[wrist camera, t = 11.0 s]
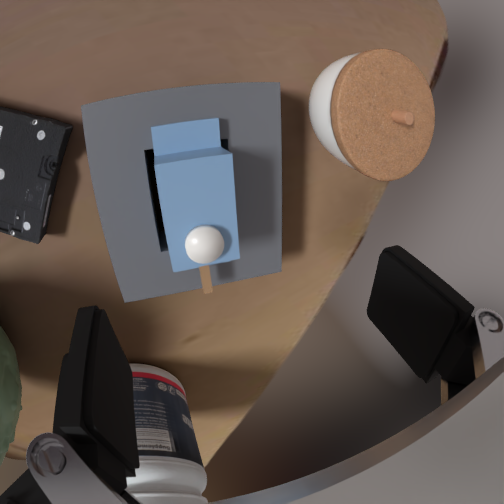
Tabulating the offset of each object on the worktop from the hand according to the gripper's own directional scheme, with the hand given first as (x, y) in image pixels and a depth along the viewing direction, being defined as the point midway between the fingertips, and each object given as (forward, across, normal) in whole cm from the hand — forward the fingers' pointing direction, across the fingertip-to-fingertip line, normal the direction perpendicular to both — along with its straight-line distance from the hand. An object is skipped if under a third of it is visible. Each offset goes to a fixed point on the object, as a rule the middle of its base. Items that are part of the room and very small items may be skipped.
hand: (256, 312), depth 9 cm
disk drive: (+18, +18, -5) cm, 27 cm away
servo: (+18, 0, +1) cm, 18 cm away
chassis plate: (+18, +1, +1) cm, 18 cm away
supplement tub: (+17, +12, +26) cm, 33 cm away
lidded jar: (+18, -14, -5) cm, 24 cm away
